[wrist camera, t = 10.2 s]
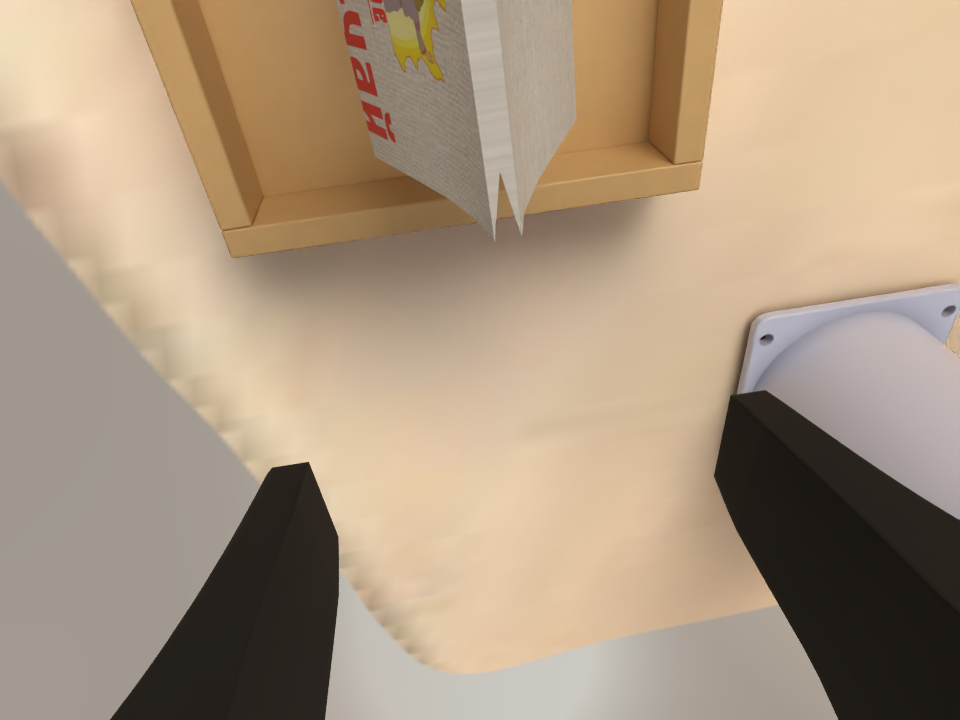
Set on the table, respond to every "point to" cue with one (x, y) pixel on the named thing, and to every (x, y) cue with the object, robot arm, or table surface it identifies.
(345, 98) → the tray
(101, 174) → the table surface
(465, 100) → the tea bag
